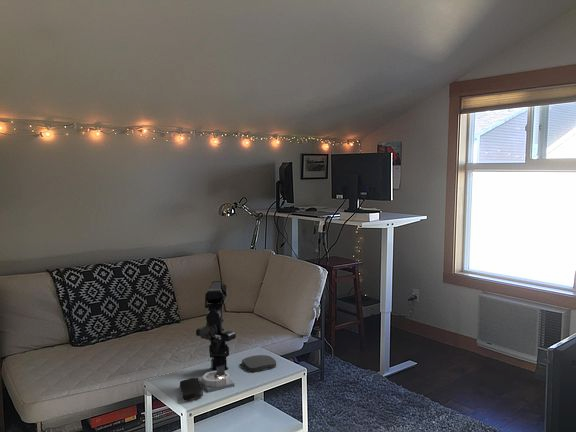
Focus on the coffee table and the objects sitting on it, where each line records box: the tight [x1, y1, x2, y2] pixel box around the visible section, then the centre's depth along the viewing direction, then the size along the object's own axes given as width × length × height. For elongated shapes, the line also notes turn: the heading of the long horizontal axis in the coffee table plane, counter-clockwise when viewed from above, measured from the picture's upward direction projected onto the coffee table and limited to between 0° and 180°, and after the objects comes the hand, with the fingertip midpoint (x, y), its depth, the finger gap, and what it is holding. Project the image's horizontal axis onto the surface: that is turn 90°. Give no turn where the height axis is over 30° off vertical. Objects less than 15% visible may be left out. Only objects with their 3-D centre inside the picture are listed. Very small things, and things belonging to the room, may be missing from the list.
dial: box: [207, 365, 226, 380], centre depth 221 cm, size 8×8×6 cm
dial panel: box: [198, 370, 235, 393], centre depth 221 cm, size 12×12×4 cm
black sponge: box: [179, 377, 204, 401], centre depth 213 cm, size 16×8×4 cm, turn 18°
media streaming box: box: [241, 354, 277, 373], centre depth 243 cm, size 15×15×3 cm
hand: (216, 352), depth 224 cm, fingers closed
